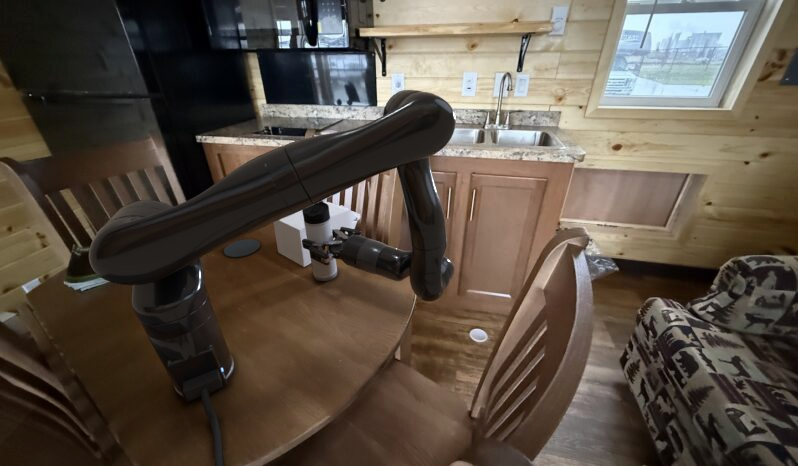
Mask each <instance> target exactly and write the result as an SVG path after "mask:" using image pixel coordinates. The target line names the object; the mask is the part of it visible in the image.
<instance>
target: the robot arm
mask: <svg viewBox="0 0 798 466" xmlns="http://www.w3.org/2000/svg"><path fill="white" fill-rule="evenodd" d="M456 123H457V117H456V114H455V110H454V109H453V107H452V106H451V105H450V103H449V102H448V101H447V100H446V99H444V98H443V97H441V96H439V95H438V94H435V93H433V92H429V91H423V90H416V89H403V90H399V91H397V92H396V93H393V94H392V95H391V97H390V98H389V99H388V100H387V101H386V104H385V106H384V108H383V112H382V115H381V116H380V117H378V118H376V119H374V120H372V121H370V122H368V123H365V124H363V125H361V126H358V127H355V128H351V129H347V130H342V131H337V132H331V133H325V134H320V135H315V136H310V137H306V138H305V137H304V138H302V139H298V140H295V141H292V142H288V143H286V144H284V145H282V146H279V147H277V148H274V149H272V150H269V151H267V152H265V153H262V154H259V155H258V156H256V157H254V158H252V159H250V160H248V161H247V162H245V163H243V164H241V165H240V166H238V167H236V168H235V169H234V170H232V171H231V172H230V173H228V174H227V175H225V176H223V177H222V178H221V179H219V180H218V181H217V182H215V183H214V184H213V185H211V186H210V187H208V188H207V189H205V190H204V191H202V192H201V193H199V194H197V195H196V196H194V197H192V198H190V199H188V200H185V201H183V202H182V203H179V204H177V205H174V206H172V205H170V204H168V203H166V202H162V201H160V200H155V199H140V200H135V201H132V202H129V203H127V204H125V205H123V206H122V207H120V208H119V209H118V210H116V212H115V213H114V214H113V215H112V216H111V217H110V218H109V219H108V220H107V221H106V222H105V224H103V226H102V227H100V229H99V230H98V231H97V233H96V234H95V236H94V237H93V239H92V241H91V243H90V246H89V251H88V261H89V264H90V266H91V269H92V270H93V271H94V273H95V274H96V275H97V276H98V277H100V278H101V279H103V280H105V281H107V282H109V283H112V284H116V285H121V286H131V287H132V290H131V308H132V310H133V311H134V313H135V315H136V317H137V319H138V320H139V322H140V324H141V327H142V328H143V330H144V332H145V335H146V336H147V338H148V339H149V341H150V344H151V345H152V347H153V349H154V351H155V352H156V354H157V356H158V358H159V360H160V362H161V364H162V365H163V368H164V369H165V371H166V373H167V375H168V377H169V379H170V380H171V382H172V385H173V388H174V390H175V391H176V393H177V394H178V395H179V397H181V398H184V400H185V402H186V403H187V404H189V403H191V402H193V401H197V400H199V399H201V402H202V406H203V409H204V412H205V415H206V416H207V418H208V420H209V423H210V428H211V432H212V438H213V450H214V453H213V454H214V466H224V464H225V463H224V456H223V443H222V435H221V434H222V433H221V429H220V424H219V420H218V417H217V414H216V411H215V410H214V408H213V406H212V402H211V399H210V394H213V393H215V392H217V391H220V390H222V389H224V388H227V387H228V381H229V379H231V377H232V374H233V373H234V370H235V361H234V358H233V356H232V354H231V352H230V349H229V346H228V344H227V341H226V338H225V336H224V333H223V330H222V328H221V325H220V323H219V320H218V317H217V315H216V312H215V309H214V306H213V304H212V300H211V297H210V295H209V292H208V289H207V286H206V283H205V271H204V267H203V263H202V260H201V258H203V257H204V256H206V255H207V254H210V253H211V252H213V251H215V250H217V249H218V248H220V247H222V246H224V245H226V244H229V243H231V242H234V241H235V240H237V239H240V238H242V237H244V236H246V235H249V234H251V233H253V232H256V231H258V230H260V229H262V228H264V227H267V226H269V225H271V224H273V222H276V221H278V220H280V219H283V218H285V217H288V216H290V215H292V214H295V213H297V212H299V211H301V210H303V209H306V208H308V207H310V206H312V205H314V204H317V203H319V202H321V201H323V202H324V200H327V199H328V198H330V197H333V196H335V195H337V194H339V193H341V192H343V191H346V190H349V189H350V188H352V187H355V186H357V185H359V184H361V183H363V182H365V181H367V180H368V179H371V178H373V177H375V176H378V175H381V174H383V173H386V172H388V171H392V170H395V169H396V171H397V175H398V179H399V184H400V187H401V192H402V196H403V201H404V202H403V203H404V207H405V213H406V220H407V225H408V226H407V227H408V233H409V234H408V235H409V241H410V246H411V250H404V249H401V248H397V247H395V246H391V245H389V244H386V243H384V242H382V241H379V240H375V239H373V238H369V237H366V236H363V235H362V230H359V229H356V228H355V229H351V228H346V227H341V228H340V229H339V230H338V229H335V230H333V229H332V234H333V238H335V239H334V240H333V241H324V242H323V243H315V242H313V241H310V240H307V239H303V240H302V245H303V248H305V249H307V250H309V251H310V258H312V259H314V260H316V261H318V262H320V263H322V264H324V265H326V266H327V265H329V264H330V262H329V261H331V260H332V259H336V260H341V261H342V262H343V263H344V264H345V265H346V266H349V267H352V268H354V269H357V270H359V271H362V272H364V273H368V274H372V275H377V276H380V277H382V278H386V279H387V280H391V281H394V282H403V281H405V280H406V279H407V278H408V277H409V284H410V288H411V289H412V291H413V293H414V295H415V296H416V297H417V298H418V299H419V300H422V301H423V302H427V303H428V302H431V303H432V302H434V301H437V300H439V299H440V298H441V297H442V295H443V294H444V293H445V291H446V289H447V288H448V286H449V284H450V282H451V281H452V279H453V278H454V276H455V271H456V269H455V266H454V264H453V262H452V260H450V259H449V258H448V257H447V256H445V254H446V252H447V249H448V237H447V235H448V234H447V225H446V224H447V223H446V216H445V211H444V208H443V204H442V201H441V198H440V195H439V192H438V189H437V186H436V183H435V179H434V176H433V171H432V166H431V159H430V157H432V156H435V155H436V154H437V153H440V151H442V150H443V149H444V148H445V147H446V146H448V144H449V142H451V139H452V137H453V135H454V133H455V130H456V125H457V124H456ZM345 231H346V232H348V234H345ZM327 246H328V247H329V251H327ZM318 247H322V250H318Z"/></svg>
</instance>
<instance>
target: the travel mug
mask: <svg viewBox="0 0 798 466" xmlns="http://www.w3.org/2000/svg"><path fill="white" fill-rule="evenodd" d="M324 202H325V201H324V200H323V201H321V202H319V203H317V204H314V205H312V206H310V207H308V208H306V209H303V210H302V212H303V217H304V224H305V230H306V236H307V240H310V241H313V242H315V243H323V242H324V241H333V234H332V226H331V220H330V214H329V206H328V205H327V204H326V203H324ZM318 250H322V247H318ZM327 251H329V247H328V246H327ZM309 253H310V251H309ZM329 262H330V264H329V265H327V266H326V265H324V264H322V263H320V262H318V261H316V260H314V259H312V258H311V263H310V264H311V269H312V274H313V278H314V279H315V280H316V281H319V282H327V281H331V280H333V279H335V278H336V277H337V276H338V266H337V259H332V260H331V261H329Z"/></svg>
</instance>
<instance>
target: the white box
mask: <svg viewBox="0 0 798 466" xmlns="http://www.w3.org/2000/svg"><path fill="white" fill-rule="evenodd" d="M323 202H324V203H326V204H327V205H328V206H329V214H330V220H331V226H332V229H333V230H335V229H338V230H339V229H340V228H341V227H346V228H351V229H355V230H356V227H357V223H358V221H359V220H360V219H361V213H359V212H356V211H353V210H351V209H349V208H348V207H347V206H344V205H342V204H340V205H338V204H335V203H332V202H330V201H323ZM272 224H273V230H274V235H275V241H276V248H277V252H278V254H280V255H281V256H283V257H286V258H287V259H289V260H290V261H292V262H294V263H296V264H298V265H300V266H301V267H303V268H305V267H307V266H308V265H310V264H311V258H310V253H309V250H307V249H305V248H303V245H302V240H303V239H307V236H306V230H305V224H304V217H303V212H302V210H301V211H299V212H297V213H295V214H292V215H290V216H288V217H285V218H283V219H280V220H278V221H276V222H273V223H272ZM345 234H348V232H346V231H345ZM334 239H335V238H333V240H334Z"/></svg>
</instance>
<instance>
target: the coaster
mask: <svg viewBox="0 0 798 466" xmlns="http://www.w3.org/2000/svg"><path fill="white" fill-rule="evenodd" d="M260 248H261V243H260V242H259V240H256V239H253V238H244V239H239V240H236V241H235V240H234V241H232V242H230V243H228V244H227V246H225V247H224V249H223V254H224V256H226V257H228V258H232V259H239V258H245V257H248V256H251V255H253V254H255V253H256V252H257V251H258V250H260Z"/></svg>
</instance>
